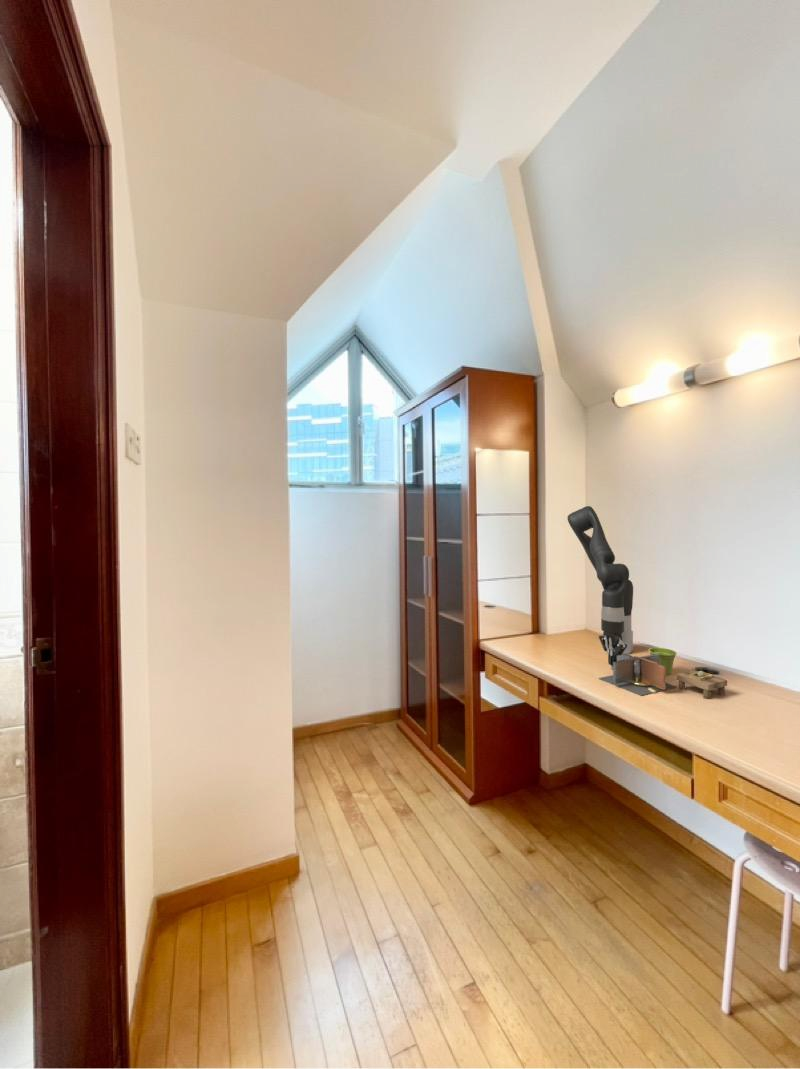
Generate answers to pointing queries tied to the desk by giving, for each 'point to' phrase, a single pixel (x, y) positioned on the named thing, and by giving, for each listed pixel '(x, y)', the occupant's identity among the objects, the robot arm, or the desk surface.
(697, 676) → the level stand
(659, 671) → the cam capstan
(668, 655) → the plant pot
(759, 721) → the desk surface
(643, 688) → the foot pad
